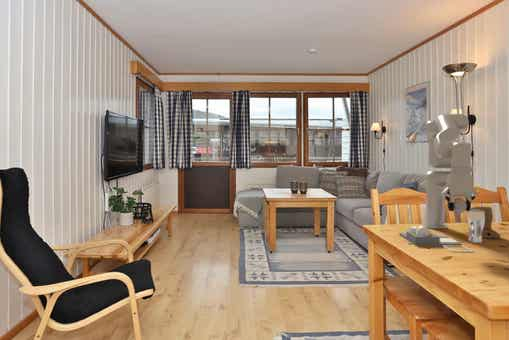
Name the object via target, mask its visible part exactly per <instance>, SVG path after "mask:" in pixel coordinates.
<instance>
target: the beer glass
mask: <svg viewBox="0 0 509 340" xmlns="http://www.w3.org/2000/svg"><path fill="white" fill-rule="evenodd" d="M484 223H485V211H483V210H471V209H470V211H468V215H467V225H468V233H469V234H468V239H467V241H468V242H469V243H473V244H482V243H483V237H482V232H483V228H484Z"/></svg>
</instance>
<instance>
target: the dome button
mask: <svg viewBox="0 0 509 340" xmlns="http://www.w3.org/2000/svg"><path fill="white" fill-rule="evenodd" d="M417 227H418V228H417V229H416V235H418V236H430V232H431V231H430V230H429V229H430V228H427V227H425V226H422V225H419V226H417Z"/></svg>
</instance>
